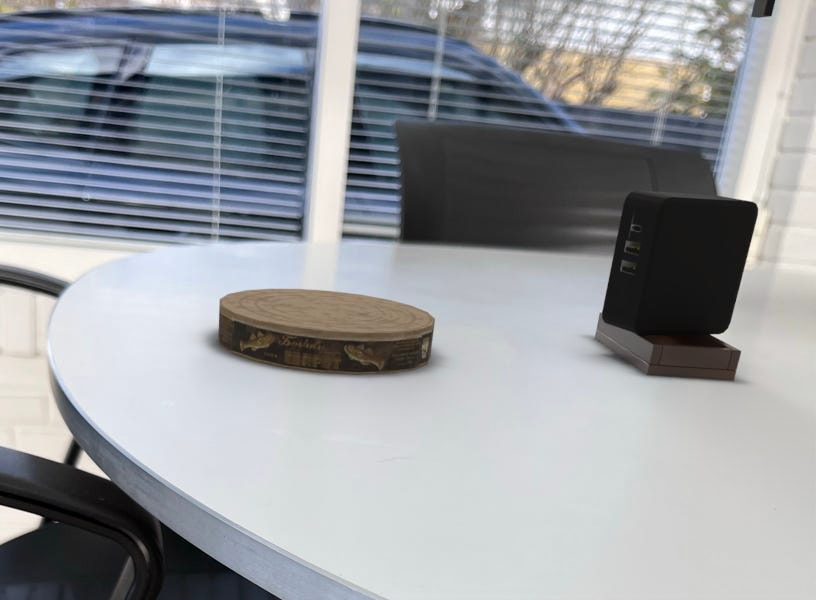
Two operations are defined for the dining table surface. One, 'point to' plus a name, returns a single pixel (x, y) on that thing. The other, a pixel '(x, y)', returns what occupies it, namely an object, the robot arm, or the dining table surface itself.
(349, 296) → the tin can
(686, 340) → the brown box
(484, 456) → the dining table surface
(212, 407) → the dining table surface
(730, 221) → the electronic device
